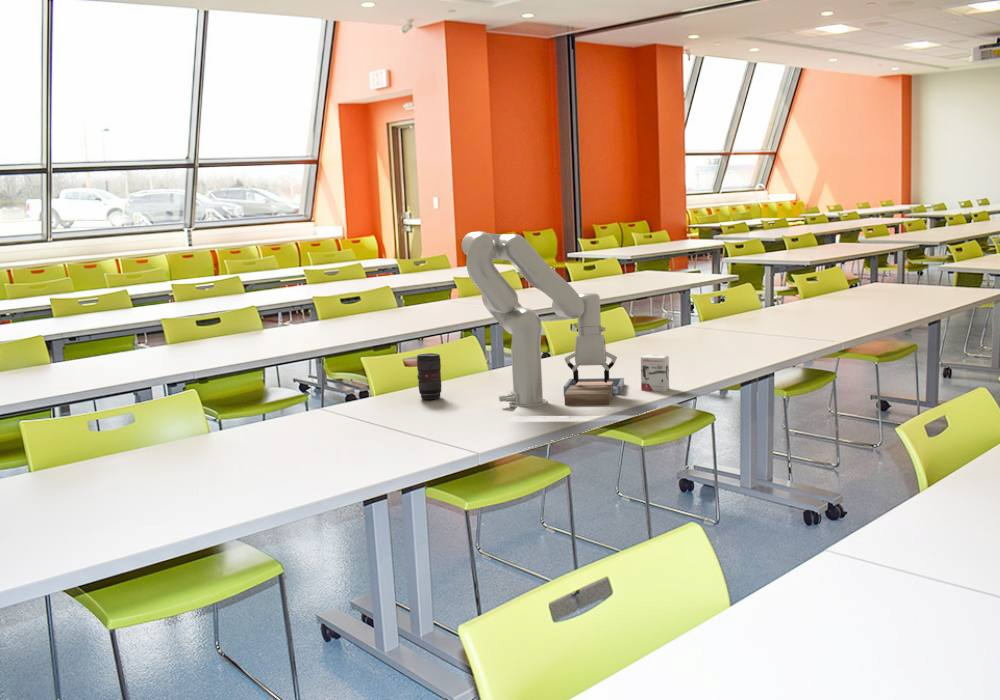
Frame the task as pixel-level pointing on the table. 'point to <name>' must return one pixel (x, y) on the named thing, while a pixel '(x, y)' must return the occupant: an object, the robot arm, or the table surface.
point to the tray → (616, 381)
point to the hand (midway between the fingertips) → (591, 382)
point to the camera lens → (429, 375)
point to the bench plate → (588, 395)
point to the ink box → (655, 373)
